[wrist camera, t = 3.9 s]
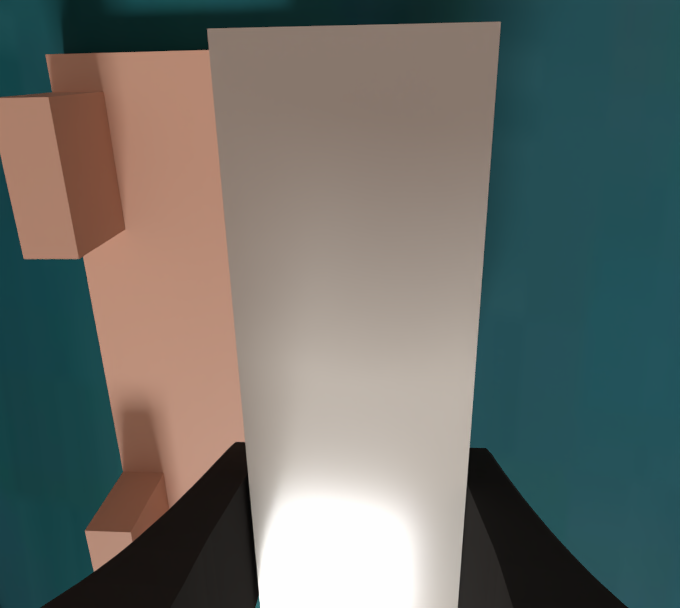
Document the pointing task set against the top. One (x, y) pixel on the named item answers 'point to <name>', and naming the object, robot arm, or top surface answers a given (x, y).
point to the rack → (137, 259)
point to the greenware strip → (356, 297)
